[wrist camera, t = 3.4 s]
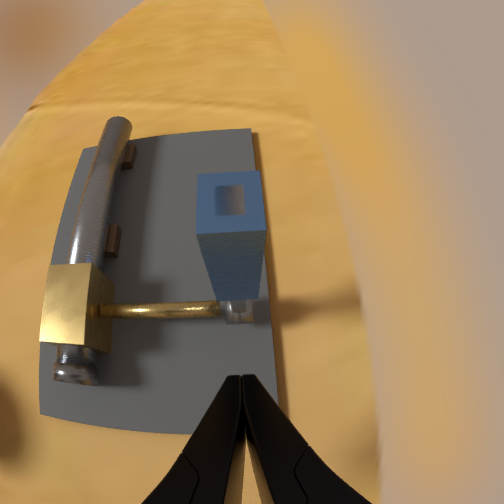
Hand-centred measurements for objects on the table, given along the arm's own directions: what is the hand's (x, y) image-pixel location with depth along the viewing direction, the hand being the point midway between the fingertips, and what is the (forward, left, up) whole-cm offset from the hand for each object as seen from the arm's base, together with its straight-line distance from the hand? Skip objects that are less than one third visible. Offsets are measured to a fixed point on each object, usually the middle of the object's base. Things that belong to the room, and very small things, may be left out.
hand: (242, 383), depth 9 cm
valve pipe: (+8, -10, -10) cm, 17 cm away
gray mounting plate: (+8, -9, -11) cm, 16 cm away
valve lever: (0, -5, -9) cm, 10 cm away
